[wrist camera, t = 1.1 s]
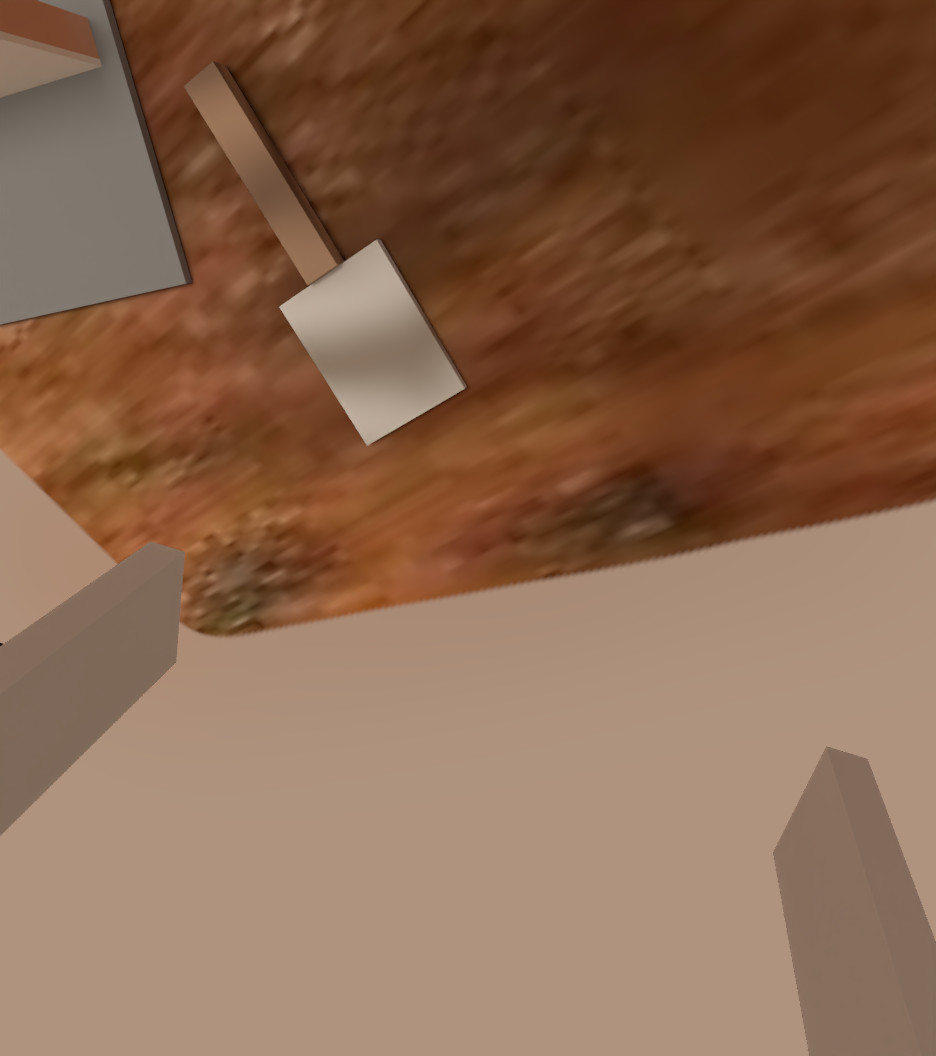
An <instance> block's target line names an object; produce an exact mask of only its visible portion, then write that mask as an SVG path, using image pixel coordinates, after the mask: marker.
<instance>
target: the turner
mask: <svg viewBox="0 0 936 1056" xmlns="http://www.w3.org/2000/svg"><path fill="white" fill-rule="evenodd" d="M184 87H185V89H186V91H187V92H188V94H189V96H190V97H191V99H192V100H193V102H194V104H195V105H196V107H197V108H198V110H199V112H200V113H201V115H202V116H203V118H204V120H205V121H206V123H207V124H208V126H209V128H210V129H211V131H212V133H213V134H214V136H215V137H216V139H217V141H218V142H219V144H220V145H221V147H222V149H223V150H224V152H225V153H226V155H227V157H228V158H229V160H230V162H231V163H232V165H233V166H234V168H235V170H236V171H237V173H238V174H239V176H240V178H241V179H242V181H243V182H244V184H245V186H246V187H247V189H248V190H249V192H250V194H251V195H252V197H253V199H254V200H255V202H256V203H257V205H258V207H259V208H260V210H261V211H262V213H263V215H264V216H265V218H266V219H267V221H268V223H269V224H270V226H271V227H272V229H273V231H274V232H275V234H276V236H277V237H278V239H279V240H280V242H281V244H282V245H283V247H284V248H285V250H286V252H287V253H288V255H289V256H290V258H291V260H292V261H293V263H294V264H295V266H296V268H297V269H298V271H299V273H300V274H301V276H302V277H303V279H304V281H305V282H306V284H307V285H310V284H311V285H310V286H309V287H307V288H306V289H304V290H303V291H301V292H300V293H298V294H297V295H295V296H294V297H293V298H291V299H290V300H288V301H287V302H285V303H284V304H282V305H281V306H280V309H281V311H282V312H283V314H284V315H285V317H286V318H287V320H288V322H289V323H290V325H291V326H292V328H293V329H294V331H295V333H296V334H297V336H298V337H299V339H300V341H301V342H302V344H303V345H304V347H305V348H306V350H307V352H308V353H309V355H310V356H311V358H312V359H313V361H314V363H315V364H316V366H317V367H318V369H319V370H320V372H321V374H322V375H323V377H324V378H325V380H326V382H327V383H328V385H329V386H330V388H331V389H332V391H333V393H334V394H335V396H336V397H337V399H338V400H339V402H340V404H341V405H342V407H343V408H344V410H345V412H346V413H347V415H348V416H349V418H350V419H351V421H352V423H353V424H354V426H355V427H356V429H357V430H358V432H359V434H360V435H361V437H362V438H363V440H364V442H365V443H366V445H367V446H368V445H369V444H371V443H373V442H374V441H376V440H378V439H380V438H381V437H383V436H385V435H386V434H388V433H390V432H392V431H393V430H395V429H397V428H398V427H400V426H402V425H404V424H405V423H407V422H409V421H410V420H412V419H414V418H416V417H417V416H419V415H421V414H422V413H424V412H426V411H428V410H429V409H431V408H433V407H434V406H436V405H438V404H440V403H441V402H443V401H445V400H446V399H448V398H450V397H452V396H453V395H455V394H457V393H458V392H460V391H462V390H464V389H465V388H466V387H467V386H466V384H465V382H464V381H463V379H462V377H461V375H460V374H459V372H458V370H457V369H456V367H455V365H454V364H453V362H452V360H451V358H450V357H449V355H448V353H447V352H446V350H445V348H444V347H443V345H442V343H441V342H440V340H439V338H438V336H437V335H436V333H435V331H434V330H433V328H432V326H431V325H430V323H429V321H428V319H427V318H426V316H425V314H424V313H423V311H422V309H421V308H420V306H419V304H418V302H417V301H416V299H415V297H414V296H413V294H412V292H411V291H410V289H409V287H408V285H407V284H406V282H405V280H404V279H403V277H402V275H401V274H400V272H399V270H398V268H397V267H396V265H395V263H394V262H393V260H392V258H391V257H390V255H389V253H388V251H387V250H386V248H385V246H384V245H383V243H382V241H381V240H380V239H378V240H375V241H374V242H372V243H371V244H370V245H368V246H367V247H365V248H364V249H362V250H361V251H359V252H358V253H356V254H355V255H354V256H352V257H351V258H349V259H348V260H346V261H345V262H344V260H343V258H342V257H341V255H340V253H339V252H338V250H337V248H336V247H335V245H334V243H333V242H332V240H331V239H330V237H329V235H328V234H327V232H326V230H325V229H324V227H323V225H322V224H321V222H320V220H319V219H318V217H317V215H316V214H315V212H314V211H313V209H312V207H311V206H310V204H309V202H308V201H307V199H306V197H305V196H304V194H303V192H302V191H301V189H300V187H299V186H298V184H297V182H296V181H295V179H294V178H293V176H292V174H291V173H290V171H289V169H288V168H287V166H286V164H285V163H284V161H283V159H282V158H281V156H280V154H279V153H278V151H277V150H276V148H275V146H274V145H273V143H272V141H271V140H270V138H269V136H268V135H267V133H266V131H265V130H264V128H263V126H262V125H261V123H260V122H259V120H258V118H257V117H256V115H255V113H254V112H253V110H252V108H251V107H250V105H249V103H248V102H247V100H246V98H245V97H244V95H243V93H242V92H241V90H240V89H239V87H238V85H237V84H236V82H235V80H234V79H233V77H232V75H231V74H230V72H229V70H228V69H227V67H226V65H223V64H220V63H217V62H214V61H213V62H211V63H210V64H209V65H208V66H207V67H206V68H204V69H203V70H202V71H201V72H200V73H199V74H197V75H196V76H195V77H194V78H193V79H192V80H190V81H189V82H188V83H187V84H186V85H185V86H184Z"/></svg>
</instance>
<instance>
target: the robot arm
mask: <svg viewBox="0 0 936 1056" xmlns="http://www.w3.org/2000/svg"><path fill="white" fill-rule="evenodd" d="M184 555H185V552H183V551H180V550H177V549H173V548H170V547H167V546H163V545H160V544H157V543H153V542H149V543H148V544H146V545H145V546H143V547H142V548H141V549H139V550H138V551H136V552H135V553H133V554H132V555H131V556H129V557H128V558H126V559H125V560H123V561H122V562H121V563H119V564H118V565H116V566H115V567H113V568H112V569H111V570H109V571H108V572H106V573H105V574H103V575H102V576H101V577H99V578H98V579H96V580H95V581H93V582H92V583H90V584H89V585H88V586H86V587H85V588H83V589H82V590H80V591H79V592H78V593H76V594H75V595H73V596H72V597H71V598H69V599H68V600H66V601H65V602H63V603H62V604H60V605H59V606H58V607H56V608H55V609H53V610H52V611H51V612H49V613H48V614H46V615H45V616H43V617H42V618H40V619H39V620H38V621H36V622H35V623H33V624H32V625H30V626H29V627H27V628H26V629H25V630H23V631H22V632H20V633H19V634H18V635H16V636H15V637H13V638H12V639H10V640H9V641H7V642H6V643H5V644H2V643H0V836H1V835H2V834H3V832H5V831H6V830H7V829H8V828H9V827H10V826H11V825H12V824H13V823H14V822H15V821H16V820H17V819H18V818H19V817H20V816H21V815H22V814H23V813H24V812H25V811H26V810H27V809H28V808H29V807H30V806H31V805H32V804H33V803H34V802H35V801H36V800H37V799H38V798H39V797H40V796H41V795H42V794H43V793H44V792H45V791H46V790H47V789H48V788H49V787H50V786H51V785H52V784H53V783H54V782H55V781H56V780H57V779H58V778H59V777H60V776H61V775H62V774H63V773H64V772H65V771H66V770H67V769H68V768H69V767H71V765H72V764H74V763H75V762H76V760H78V759H79V757H81V756H82V755H83V754H84V752H86V751H87V750H88V749H89V748H90V747H91V746H92V745H93V744H94V743H95V742H96V741H97V740H98V739H99V738H100V737H101V736H102V735H103V734H104V733H105V732H106V731H107V730H108V729H109V728H110V727H111V726H112V725H113V724H114V723H115V722H116V721H117V720H118V719H119V718H120V717H121V716H122V715H123V714H124V713H125V712H126V711H127V710H128V709H129V708H130V707H131V706H132V705H133V704H134V703H135V702H136V701H137V700H138V699H139V698H140V697H141V696H142V695H143V694H144V693H145V692H146V691H147V690H148V689H149V688H150V687H151V686H152V685H154V684H155V683H156V682H157V680H159V679H160V678H161V677H162V676H163V675H164V674H165V673H166V672H167V670H169V669H170V668H171V667H172V666H173V665H174V664H175V663H176V656H177V643H178V631H179V618H180V605H181V593H182V580H183V568H184ZM773 855H774V860H775V866H776V871H777V877H778V883H779V888H780V894H781V899H782V905H783V910H784V916H785V922H786V927H787V933H788V939H789V944H790V950H791V956H792V961H793V967H794V972H795V978H796V984H797V989H798V994H799V1000H800V1006H801V1011H802V1017H803V1023H804V1028H805V1034H806V1040H807V1044H808V1051H809V1056H936V941H935V939H934V936H933V933H932V931H931V928H930V925H929V923H928V920H927V917H926V915H925V912H924V909H923V907H922V904H921V901H920V899H919V896H918V893H917V890H916V888H915V885H914V882H913V880H912V877H911V874H910V872H909V869H908V867H907V864H906V861H905V858H904V856H903V853H902V850H901V848H900V845H899V842H898V840H897V837H896V834H895V832H894V829H893V826H892V824H891V821H890V818H889V816H888V813H887V810H886V807H885V805H884V802H883V799H882V797H881V794H880V791H879V789H878V786H877V783H876V781H875V778H874V775H873V773H872V770H871V767H870V765H869V762H868V759H866V758H862V757H859V756H856V755H853V754H849V753H846V752H843V751H839V750H836V749H833V748H830V747H826V749H825V751H824V752H823V754H822V756H821V759H820V761H819V762H818V764H817V766H816V768H815V770H814V772H813V774H812V776H811V778H810V780H809V782H808V784H807V786H806V788H805V790H804V793H803V794H802V796H801V798H800V800H799V802H798V804H797V806H796V808H795V810H794V812H793V814H792V816H791V818H790V820H789V822H788V824H787V826H786V828H785V830H784V832H783V834H782V836H781V838H780V840H779V842H778V844H777V846H776V848H775V850H774V852H773Z"/></svg>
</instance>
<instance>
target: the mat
mask: <svg viewBox="0 0 936 1056" xmlns="http://www.w3.org/2000/svg"><path fill="white" fill-rule="evenodd" d="M38 1H41V2H43V3H46V4H49V5H52V6H55V7H58V8H61V9H63V10H66V11H69V12H72V13H75V14H78V15H81V16H83V17H86V18H88V22H89V25H90V28H91V31H92V35H93V38H94V41H95V45H96V48H97V51H98V55H99V58H100V61H101V65H102V67H99V68H95V69H92V70H89V71H86V72H82V73H79V74H76V75H73V76H69V77H66V78H63V79H60V80H56V81H53V82H50V83H47V84H43V85H40V86H37V87H34V88H30V89H27V90H24V91H21V92H17V93H14V94H11V95H8V96H4V97H1V98H0V325H2V324H7V323H11V322H16V321H20V320H25V319H29V318H34V317H38V316H43V315H47V314H52V313H56V312H61V311H66V310H70V309H75V308H79V307H84V306H88V305H93V304H97V303H102V302H106V301H111V300H115V299H120V298H125V297H129V296H134V295H138V294H143V293H147V292H152V291H156V290H161V289H165V288H170V287H174V286H179V285H184V284H188V283H192V280H191V276H190V273H189V270H188V266H187V263H186V259H185V256H184V253H183V249H182V246H181V242H180V239H179V235H178V232H177V229H176V225H175V222H174V218H173V215H172V212H171V208H170V205H169V201H168V198H167V194H166V191H165V188H164V184H163V181H162V177H161V174H160V170H159V167H158V164H157V160H156V157H155V153H154V150H153V147H152V143H151V140H150V136H149V133H148V129H147V126H146V123H145V119H144V116H143V112H142V109H141V106H140V102H139V99H138V95H137V92H136V88H135V85H134V82H133V78H132V75H131V71H130V68H129V65H128V61H127V58H126V54H125V51H124V47H123V44H122V41H121V37H120V34H119V30H118V27H117V23H116V20H115V17H114V13H113V10H112V6H111V3H110V0H38Z"/></svg>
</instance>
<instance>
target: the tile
mask: <svg viewBox="0 0 936 1056" xmlns="http://www.w3.org/2000/svg"><path fill="white" fill-rule="evenodd" d="M99 67H102V65H101V61H100V58H99V55H98V51H97V48H96V45H95V41H94V38H93V35H92V31H91V28H90V25H89V22H88V18H86V17H83V16H81V15H78V14H75V13H72V12H69V11H66V10H63V9H61V8H58V7H55V6H52V5H49V4H46V3H43V2H41V1H38V0H0V98H1V97H4V96H8V95H11V94H14V93H17V92H21V91H24V90H27V89H30V88H34V87H37V86H40V85H43V84H47V83H50V82H53V81H56V80H60V79H63V78H66V77H69V76H73V75H76V74H79V73H82V72H86V71H89V70H92V69H95V68H99Z"/></svg>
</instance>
